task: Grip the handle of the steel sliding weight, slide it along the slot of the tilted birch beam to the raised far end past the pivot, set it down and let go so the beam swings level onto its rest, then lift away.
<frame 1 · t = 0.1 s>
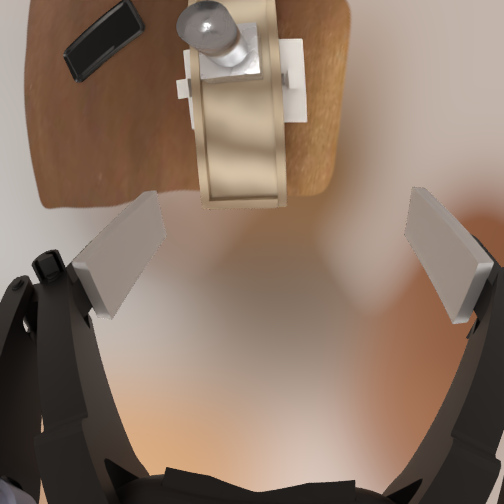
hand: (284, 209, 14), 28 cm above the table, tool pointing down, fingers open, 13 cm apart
phone: (103, 41, 31), on the table
stand: (245, 82, 34), on the table
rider: (235, 58, 27), point 7 cm above the table, tilted 8°, touching beam
beam: (238, 81, 29), point 6 cm above the table, hinge at -8.2°, touching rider
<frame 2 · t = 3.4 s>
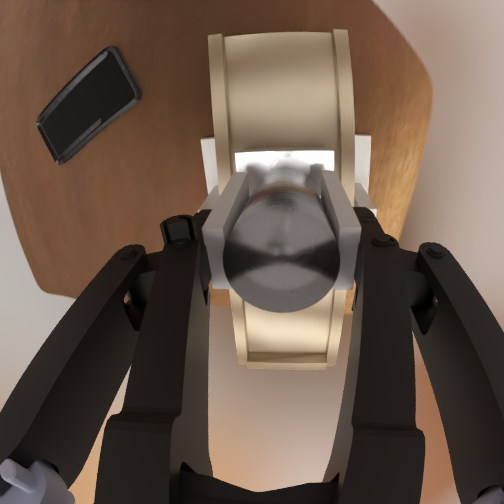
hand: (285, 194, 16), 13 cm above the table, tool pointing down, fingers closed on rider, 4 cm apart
phone: (86, 107, 26), on the table
stand: (288, 190, 29), on the table
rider: (286, 185, 21), point 7 cm above the table, tilted 8°, touching beam, gripper
beam: (287, 217, 24), point 6 cm above the table, hinge at -8.2°, touching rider
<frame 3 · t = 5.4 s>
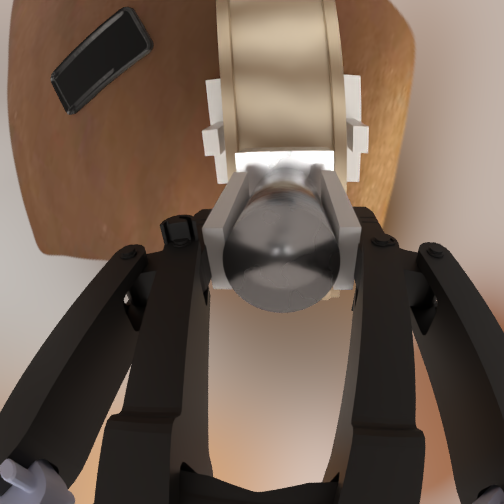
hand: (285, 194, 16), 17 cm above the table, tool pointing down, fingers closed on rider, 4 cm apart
phone: (99, 61, 26), on the table
stand: (286, 127, 29), on the table
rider: (286, 186, 21), point 11 cm above the table, tilted 8°, touching gripper
beam: (285, 136, 24), point 6 cm above the table, hinge at -8.2°
when the fingers open (15 cm above the table, at t = 7.6 s): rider drops 2 cm, resting on beam.
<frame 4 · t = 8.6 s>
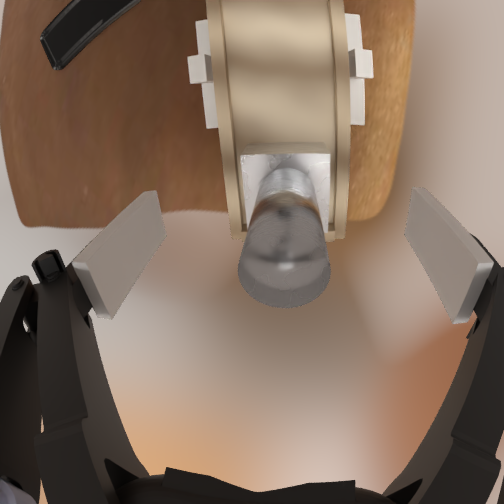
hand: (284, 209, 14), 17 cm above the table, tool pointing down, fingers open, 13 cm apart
phone: (89, 16, 21), on the table
stand: (282, 66, 24), on the table
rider: (287, 177, 23), point 7 cm above the table, touching beam
beam: (280, 61, 19), point 6 cm above the table, hinge at 0.2°, touching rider
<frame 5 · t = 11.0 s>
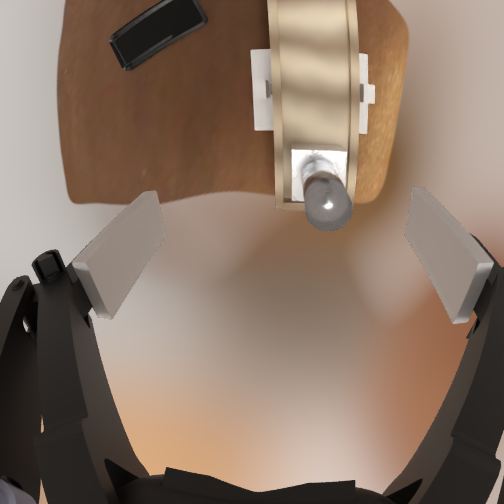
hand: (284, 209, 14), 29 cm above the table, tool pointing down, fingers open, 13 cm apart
phone: (157, 29, 32), on the table
stand: (310, 89, 35), on the table
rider: (315, 167, 34), point 7 cm above the table, touching beam
beam: (315, 89, 30), point 6 cm above the table, hinge at 0.2°, touching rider
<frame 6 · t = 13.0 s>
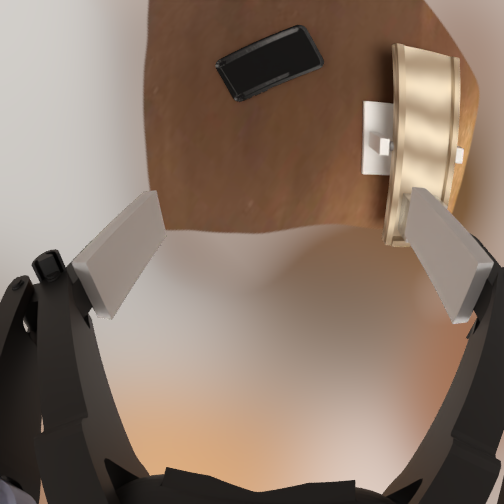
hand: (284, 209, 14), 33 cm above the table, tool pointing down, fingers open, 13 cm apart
phone: (269, 62, 37), on the table
stand: (407, 140, 39), on the table
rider: (417, 212, 39), point 7 cm above the table, touching beam
beam: (422, 149, 34), point 6 cm above the table, hinge at 0.2°, touching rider
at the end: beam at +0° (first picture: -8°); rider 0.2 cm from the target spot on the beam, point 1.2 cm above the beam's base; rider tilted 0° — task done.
